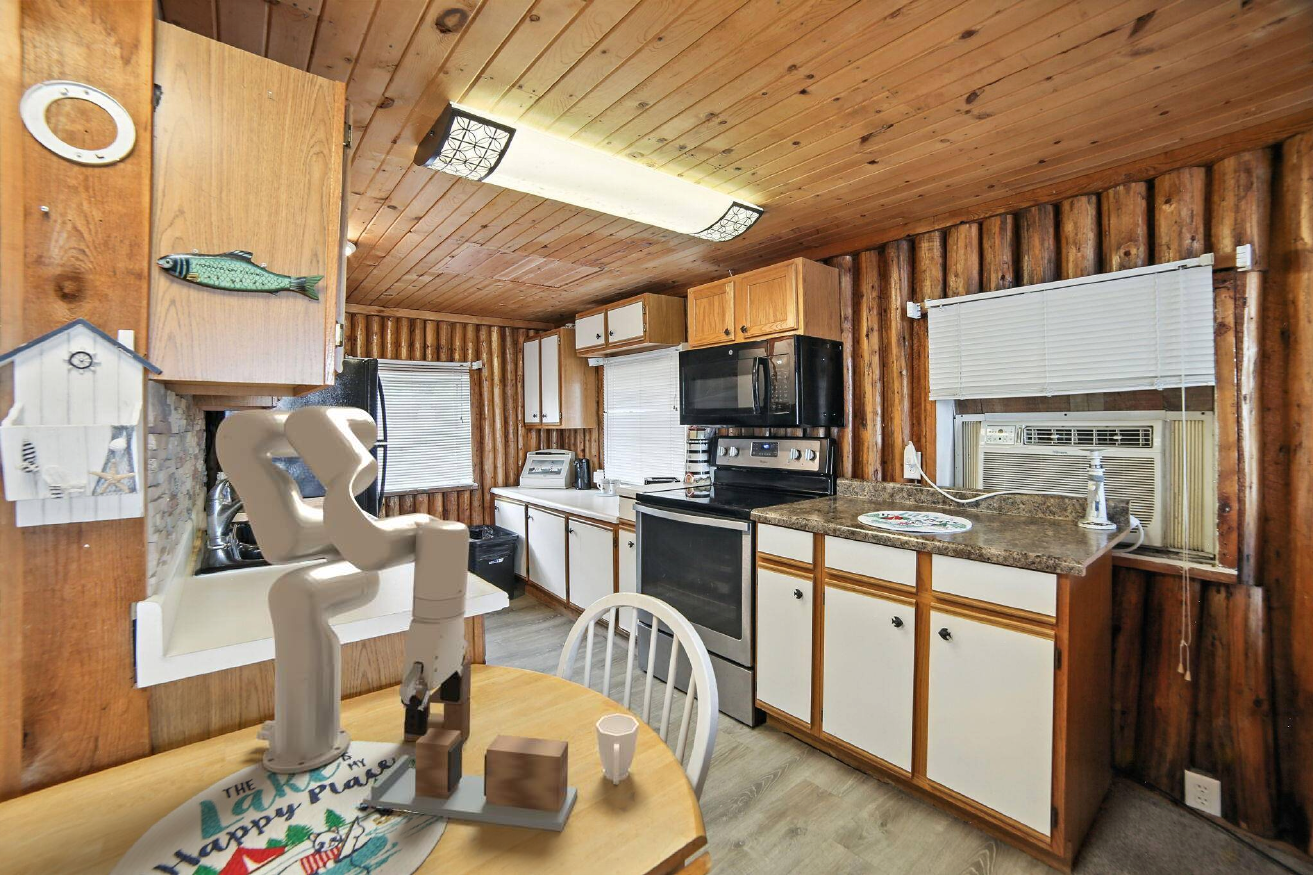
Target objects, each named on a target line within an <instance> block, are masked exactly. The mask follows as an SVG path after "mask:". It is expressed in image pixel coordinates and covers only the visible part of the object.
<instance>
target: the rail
mask: <svg viewBox="0 0 1313 875" xmlns="http://www.w3.org/2000/svg"><path fill="white" fill-rule="evenodd" d="M370 790H371V791H369V793H368V794H367V795H365V796H364V798H363V799H362V806H363V805H371V806H379V807H382V808H391V809H392V808H393V809H398V810H407V811H411V812H418V813H423V814H427V815H426V816H431V815H438V816H437V817H440V816H445V817H444V818H448V817H450V818H449V819H455V820H456V819H458V820H467V821H473V822H481V823H482V822H483V823H488V824H489V823H490V824H498V825H505V826H512V827H520V828H521V827H523V828H530V829H537V830H538V829H539V830H548V831H553V832H554V831H555V832H563V828H564V826H565V825H566V821H567V819H568V817H569V815H570V813H571V811H572V809H573V806H574V804H575V801H576V799H577V798H578V797H577V796H578V786H572V785H567V796H566V799H565V801H564V803H563V805H562V807H561V809H560V811H559V812H550V811H542V810H534V809H525V808H517V807H508V806H500V805H491V804H486V796H484V775H483V776H482V775H473V774H464V773H462V778H461V779H460V783H459V784H458V786H457V787H456V788H455V790H454V791H453V792H452V793H451V795H450V796H449V797H448V799H439V798H430V797H422V796H415V768H412V767H410V755H406V754H405V755H402V756H401V757H399V759H398V760H397V761H396V762H394V764H392V765H391V767H389V769H388V770H386V771H385V773H384V774H382V775H381V777H380V778H378V779H377V780H376V781H375V782H374V783H373V784H372V785H371V789H370ZM423 814H422V815H423Z"/></svg>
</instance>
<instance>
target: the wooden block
mask: <svg viewBox="0 0 1313 875" xmlns="http://www.w3.org/2000/svg"><path fill="white" fill-rule="evenodd" d="M462 667H463V673H462V675H461V676H460V677H461V695H460V700H459V701H458V702H449V701H442V700H440V687H441V685H439V686H438V687H437V688H436V689H435V690H433V691H434V692H432V694H431V693H430V695H429V698H428V701H427V703H426V706H425V707H428V725H427V731H428V730H429V729H430V728H435V729H445V730H456V731H461V738H462V745H463V744H464V743H465V741H466V740H467V739H468V737H469V736H470V732H471V730H470V729H471V685H472V684H471V681H472V680H471V678H472V677H471V676H472V673H471V671H472V657H469V658H467V660H466V661H465V662H463V664H462ZM418 684H422V685H427V683H425V682H424V681H419V682H418ZM422 694H423V691H420V690H416V692H415V695H416V696H417V697H418V698H419V699H421V696H422ZM431 704H443V714H442V713H437V712H431ZM404 727H405V721H404V722H403V728H404ZM420 737H421V736H418V735H412V734H406V733H405V732H404V731H403V740H404V741H405V742H416V741H417V740H418V739H419V738H420Z"/></svg>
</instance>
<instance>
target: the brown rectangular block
mask: <svg viewBox="0 0 1313 875" xmlns="http://www.w3.org/2000/svg"><path fill="white" fill-rule="evenodd" d="M414 760H415V764H414V766H415V767H414V769H415V796H422V797H430V798H439V799H448V797H449V796H450V795H451V793H452V792H453V791H454V790H455V788H456V787H457V786H458V784H459V783H460V779H461V778H462V774H463V744H462V738H461V731H456V730H445V729H435V728H430V729H429V730H428V731H427V733H426V734H425V735H424V736H421V737H420V738H419V739H418V740H417V741H415V759H414Z"/></svg>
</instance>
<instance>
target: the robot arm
mask: <svg viewBox="0 0 1313 875" xmlns="http://www.w3.org/2000/svg"><path fill="white" fill-rule="evenodd" d="M378 434H379V433H378V426H377V424H376V421H375V420H374V419H373V417H372V416H371V415H370V414H369V413H368V412H367V411H365V410H364V409H361V408H358V407H353V406H335V405H334V406H333V405H308V406H303V407H300V408H298V409H296V410H291V409H290V410H286V409H262V408H261V409H259V408H258V409H247V410H240V411H236V412H234V413H231V414H229V415H228V416H226V417H225V418H224V419H223V420H222V421H220V424H219V426H218V428H217V430H216V434H215V451H216V457H217V460H218V463H219V465H220V468H221V470H222V473H223V474H224V475H225V477H226V479H227V480H228V483H229V484H231V485H232V487H233V489H234V491H235V492H236V494H237V496H238V497H239V499H240V502H241V504H242V506H243V509H244V512H245V515H246V518H247V520H248V523H249V525H250V528H251V531H252V533H253V537H254V539H255V541H256V544H257V548H259V551H260V554H261V555H262V557H263V559H264V560H266V562H267V563H269V564H271V565H273V566H287V565H292V564H298V563H304V562H307V561H308V562H309V561H312V560H313V561H314V560H318V559H322V558H325V560H326V561H325V562H324V561H323V562H319V563H315V564H312V565H307V566H301V567H298V568H296V569H292V570H290V571H288V572H286V573H284V574H282V575H280V576H279V577H277V579H275V581H274V582H273V583H272V584H271V586H270V588H269V591H268V593H267V594H268V596H267V600H268V601H267V604H268V610H269V614H270V618H271V622H272V624H271V625H272V629H273V637H274V668H275V669H274V720H266V721H264V722H262V726H261V728H260V730H259V731H258V732H257V734H256V739H257V740H261V741H268V747H267V749H266V750H265V751H264V753H263V756H262V763H263V764H262V765H263V767H264V768H265V769H266V770H268V771H270V772H272V773H277V774H297V773H296V772H298V773H301V772H302V771H303V772H307V770H308V771H310V770H311V771H312V770H313V769H316V768H320V767H322V766H324V765H325V766H326V765H327V764H329V763H331V762H333V761H335V760H336V759H338V758H339V757H340V756H342V755H343V754H344V753H345V752H346V751H347V750H348V749H349V747H350V744H351V734H350V733H349V731H348V730H347V729H345V728H342V727H341V704H342V703H341V698H342V697H341V694H342V693H341V691H342V688H341V687H342V686H341V684H342V682H341V681H342V680H341V679H342V678H341V677H342V676H341V675H342V646H341V640H340V637H339V636H338V634H337V633H336V632H335V630H334V629H333V628H332V627H331V625H330V623H329V620H330V619H333V618H336V617H337V616H340V615H342V614H346V613H349V612H351V611H355V610H358V609H360V608H363V607H365V606H367V605H369V604H371V603H372V602H373V601H375V599H376V598H377V596H378V593H379V590H380V587H381V586H380V585H381V581H380V580H381V579H380V575H379V572H380V571H384V570H389V569H391V568H396V567H399V566H403V565H407V564H408V565H409V564H413V563H414V569H413V570H414V572H413V586H412V587H413V589H412V607H411V609H412V612H411V617H412V619H411V620H410V622H409V623H410V624H409V628H408V632H407V635H406V636H407V637H406V642H405V649H404V657H403V664H402V665H403V666H402V678H401V682H402V683H401V685H400V686H399V690H398V692H399V696H400V702H401V704H402V705H403V708H404V711H405V712H404V722H405V727H404V726H403V733H404V732H405V733H406V734H412V735H418V736H424V735H425V734H426V733H427V725H428V707H425V706H426V703H427V701H428V698H429V695H431V692H432V691H434V690H436V689H437V688H439V687H440V686H441V687H440V700H442V701H449V702H458V701H459V700H460V695H461V677H460V676H461V675H462V673H463V667H462V665H463V664H464V663H465V662H464V661H465V660H466V655H465V654H466V650H467V646H468V641H467V640H465V615H466V612H467V611H466V609H467V587H468V570H469V569H468V568H469V554H470V553H469V550H470V529H469V527H468V526H467V525H466V524H465V523H462V522H459V521H455V520H442V519H440V518H437V517H435V516H433V515H430V514H428V513H424V512H423V513H421V512H415V513H407V514H402V515H401V514H400V515H394V516H389V517H382V518H376V519H372V518H370V517H369V516H368V515H367V514H366V513H365V512H364V511H363V510H362V508H361V507H360V506H359V504H358V503H357V501H356V498H355V497H356V496H358V495H360V494H361V493H363V492H364V491H365V490H366V489H368V488H369V487H370V486H371V485H372V484H373V482H374V481H375V480H376V478H377V476H378V474H379V469H380V466H379V464H378V461H377V459H376V458H374V456H373V455H372V454H371V453H370V450H372V448H373V447H374V446H375V445H376V443H377V440H378ZM272 458H300V459H301V460H302V462H303V463H304V464H305V466H306V467H307V468H308V469H309V471H310V472H311V473H312V475H313V476H315V478H316V479H317V481H318V482H319V483H320V484H321V485H322V486H323V488H324V490H326V492H325V494H324V496H323V497H324V498H323V500H322V504H319V505H312V506H311V505H309V504H307V503H306V501H305V500H304V498H303V496H302V494H301V491H300V488H299V485H298V483H297V482H296V480H295V479H294V478H293V477H292V476H291V475H290V474H289V473H288V472H287V471H286V470H285V469H283V468H282V467H280V466H279V465H277V464H276V463H275V462H274V461H273V460H272ZM419 681H424V682H425V683H427V685H422V684H418V682H419ZM416 690H420V691H423V694H422V696H421V699H419V698H418V697H417V696H416V695H415V692H416Z"/></svg>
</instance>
